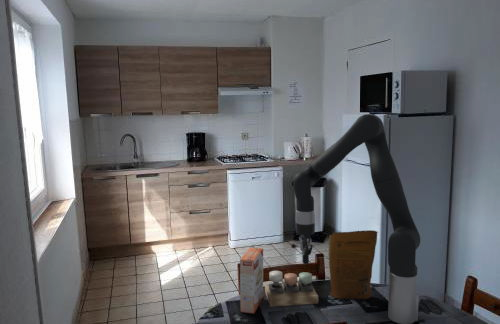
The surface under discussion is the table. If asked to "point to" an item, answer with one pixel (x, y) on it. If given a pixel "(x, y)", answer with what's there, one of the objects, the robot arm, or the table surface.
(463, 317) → the table surface
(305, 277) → the pale green ball
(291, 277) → the peach ball
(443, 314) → the table surface
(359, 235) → the pancake mix bag
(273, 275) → the white round piece
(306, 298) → the tan slotted panel
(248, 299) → the cracker box
